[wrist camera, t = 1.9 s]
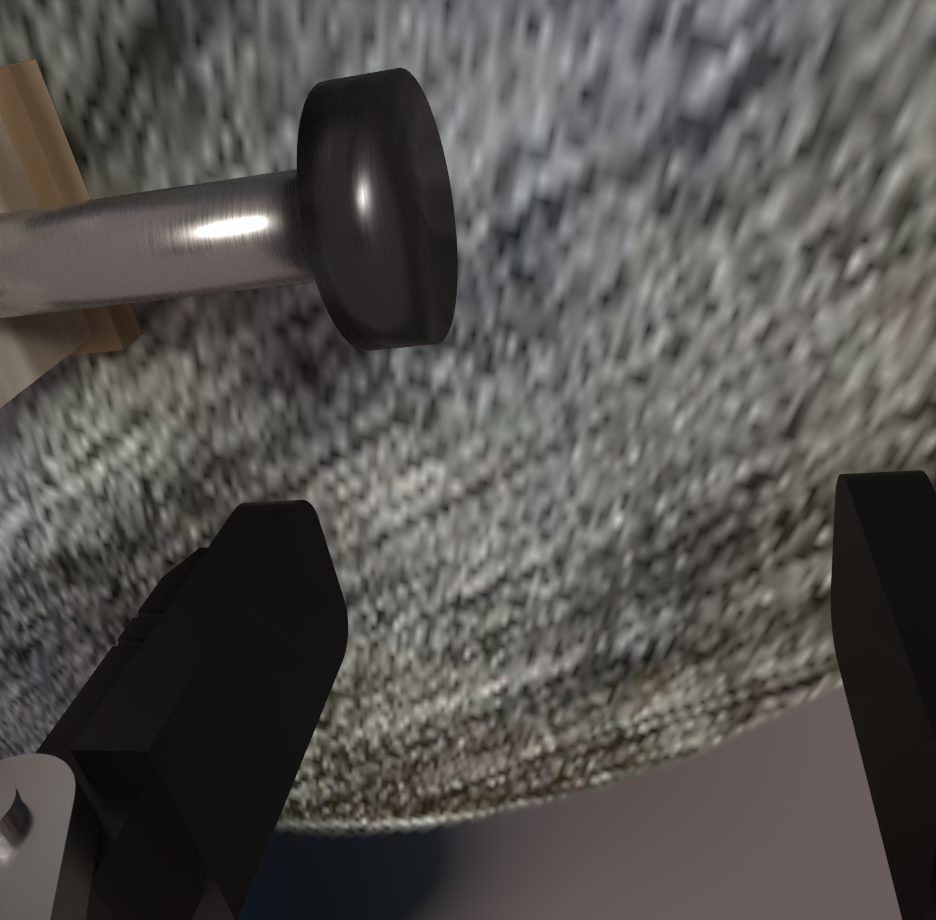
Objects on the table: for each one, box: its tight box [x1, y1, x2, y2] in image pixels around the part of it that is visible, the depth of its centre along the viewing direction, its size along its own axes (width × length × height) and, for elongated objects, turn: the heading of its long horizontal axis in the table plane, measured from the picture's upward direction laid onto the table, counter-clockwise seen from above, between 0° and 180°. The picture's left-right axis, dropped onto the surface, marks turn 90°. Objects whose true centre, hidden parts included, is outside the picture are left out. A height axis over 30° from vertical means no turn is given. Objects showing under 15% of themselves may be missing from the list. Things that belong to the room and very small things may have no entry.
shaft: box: [0, 68, 458, 351], centre depth 25 cm, size 18×7×7 cm, turn 99°
